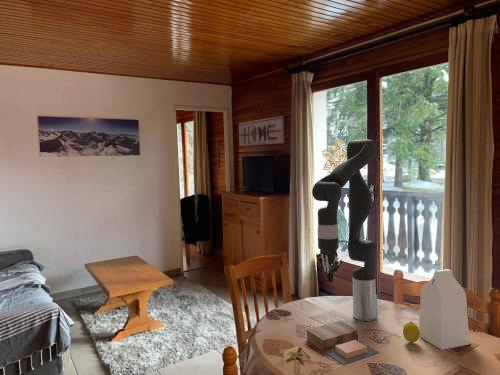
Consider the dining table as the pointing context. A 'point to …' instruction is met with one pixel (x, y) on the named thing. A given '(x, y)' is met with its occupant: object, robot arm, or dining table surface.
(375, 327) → the dining table surface
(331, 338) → the deck
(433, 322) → the milk
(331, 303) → the dining table surface
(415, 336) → the lemon
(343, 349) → the pink sponge
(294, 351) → the dining table surface
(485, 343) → the dining table surface
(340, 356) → the mat
